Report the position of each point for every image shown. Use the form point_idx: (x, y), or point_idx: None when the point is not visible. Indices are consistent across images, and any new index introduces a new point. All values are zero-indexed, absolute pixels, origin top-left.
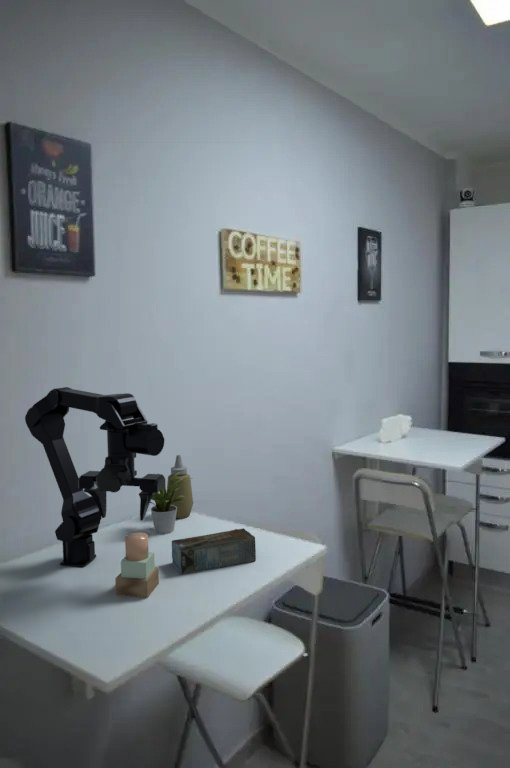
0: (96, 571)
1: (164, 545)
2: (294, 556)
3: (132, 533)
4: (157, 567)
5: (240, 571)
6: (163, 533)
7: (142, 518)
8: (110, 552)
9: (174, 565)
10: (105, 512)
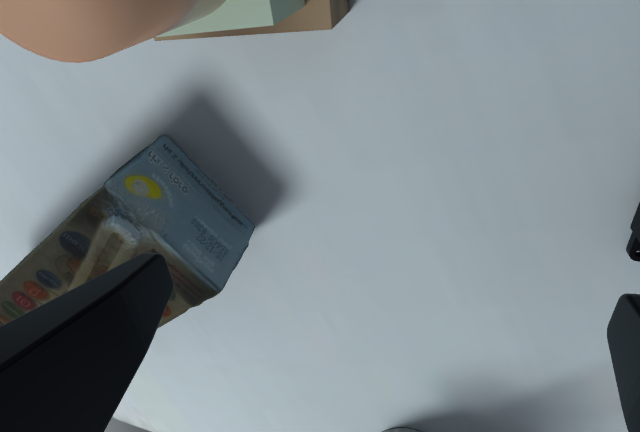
0: (578, 93)
1: (357, 354)
2: None
3: (133, 13)
4: (158, 37)
5: (12, 191)
6: (400, 428)
7: (125, 262)
8: (562, 298)
9: (235, 207)
10: (625, 377)
